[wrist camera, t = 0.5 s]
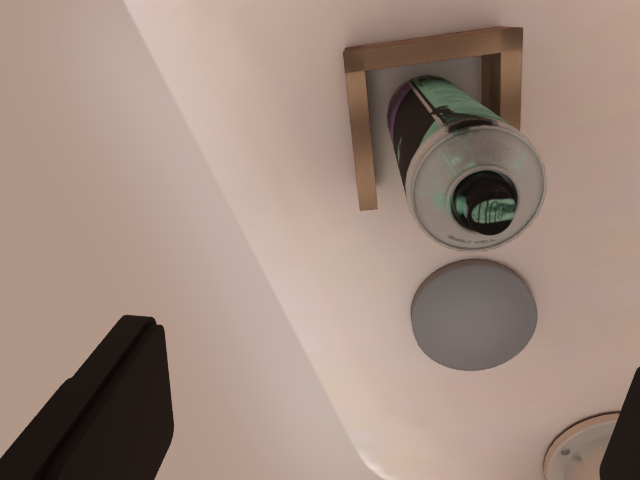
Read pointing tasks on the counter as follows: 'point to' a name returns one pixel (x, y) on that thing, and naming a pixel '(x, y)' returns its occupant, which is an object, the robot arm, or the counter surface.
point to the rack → (492, 43)
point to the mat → (473, 315)
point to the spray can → (463, 166)
